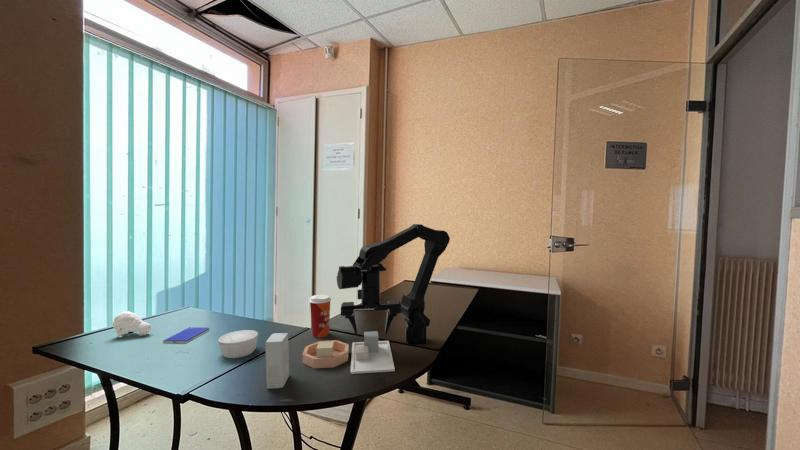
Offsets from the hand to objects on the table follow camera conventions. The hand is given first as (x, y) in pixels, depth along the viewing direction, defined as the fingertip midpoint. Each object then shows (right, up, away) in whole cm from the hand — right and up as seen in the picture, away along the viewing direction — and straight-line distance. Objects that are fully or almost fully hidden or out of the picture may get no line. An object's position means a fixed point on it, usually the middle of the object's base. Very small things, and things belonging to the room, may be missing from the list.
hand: (371, 334), depth 104 cm
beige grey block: (-2, -5, -5) cm, 8 cm away
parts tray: (0, -5, -5) cm, 7 cm away
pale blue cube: (0, -5, 0) cm, 5 cm away
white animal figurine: (-87, -5, +15) cm, 88 cm away
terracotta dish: (-13, -6, -5) cm, 15 cm away
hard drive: (-67, -6, +13) cm, 68 cm away
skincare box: (-23, -6, -19) cm, 30 cm away
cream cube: (-13, -5, -8) cm, 16 cm away
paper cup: (-19, -5, +14) cm, 24 cm away
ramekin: (-42, -6, 0) cm, 42 cm away
